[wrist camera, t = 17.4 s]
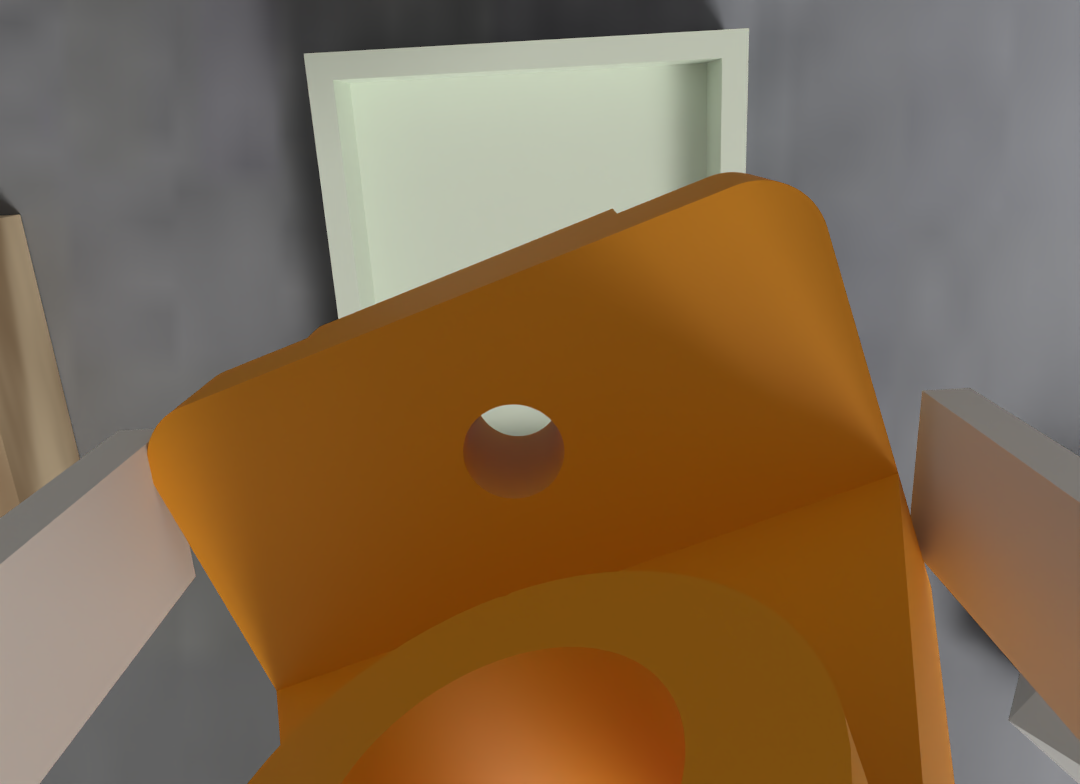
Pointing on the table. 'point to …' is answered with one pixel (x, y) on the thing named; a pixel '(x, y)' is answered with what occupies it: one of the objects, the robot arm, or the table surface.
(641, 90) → the tray
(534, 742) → the bracket
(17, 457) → the bore block
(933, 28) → the table surface
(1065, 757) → the die
